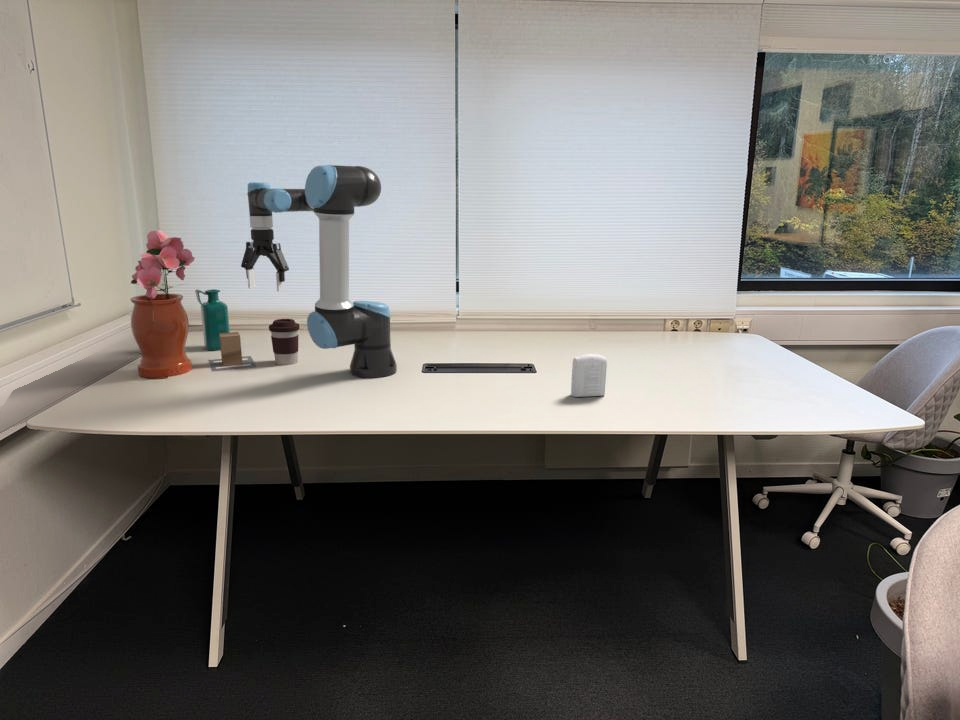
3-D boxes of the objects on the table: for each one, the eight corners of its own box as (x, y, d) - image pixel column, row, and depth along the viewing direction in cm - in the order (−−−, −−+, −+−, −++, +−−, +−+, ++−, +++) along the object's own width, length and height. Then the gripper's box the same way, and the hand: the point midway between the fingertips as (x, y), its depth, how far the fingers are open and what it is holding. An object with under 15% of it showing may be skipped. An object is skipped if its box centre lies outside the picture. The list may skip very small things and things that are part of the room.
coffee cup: (265, 365, 224) (262, 322, 220) (282, 358, 233) (279, 316, 229) (291, 368, 221) (288, 324, 217) (307, 361, 230) (304, 318, 226)
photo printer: (601, 392, 198) (603, 351, 195) (607, 396, 194) (609, 355, 191) (568, 394, 196) (570, 353, 193) (573, 398, 192) (575, 357, 189)
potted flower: (210, 360, 230) (198, 228, 218) (189, 381, 205) (173, 233, 194) (153, 361, 227) (137, 228, 216) (125, 382, 203) (105, 233, 192)
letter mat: (257, 368, 221) (256, 366, 221) (212, 372, 215) (211, 371, 215) (250, 357, 235) (250, 355, 235) (208, 361, 229) (208, 359, 229)
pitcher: (227, 344, 253) (222, 287, 248) (232, 349, 246) (226, 290, 241) (200, 347, 248) (194, 288, 243) (204, 352, 241) (198, 292, 236)
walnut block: (242, 364, 224) (240, 335, 221) (223, 366, 221) (220, 337, 218) (240, 360, 229) (238, 331, 226) (221, 362, 226) (219, 333, 224)
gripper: (297, 229, 227) (300, 290, 233) (243, 226, 238) (248, 285, 244) (281, 230, 221) (285, 293, 226) (227, 227, 232) (232, 288, 237)
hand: (266, 289), depth 235 cm, fingers open, 13 cm apart
